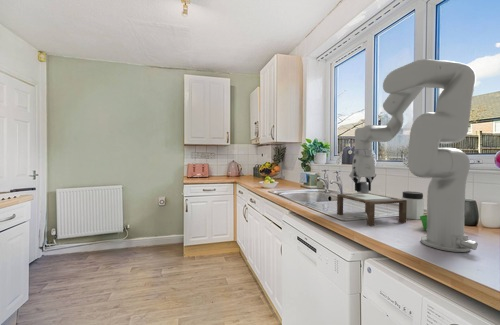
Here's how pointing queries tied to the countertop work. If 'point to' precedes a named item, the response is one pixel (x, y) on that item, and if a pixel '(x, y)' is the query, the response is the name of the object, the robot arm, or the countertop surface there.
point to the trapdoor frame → (373, 206)
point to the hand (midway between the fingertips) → (362, 190)
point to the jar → (414, 204)
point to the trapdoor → (370, 197)
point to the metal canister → (364, 187)
